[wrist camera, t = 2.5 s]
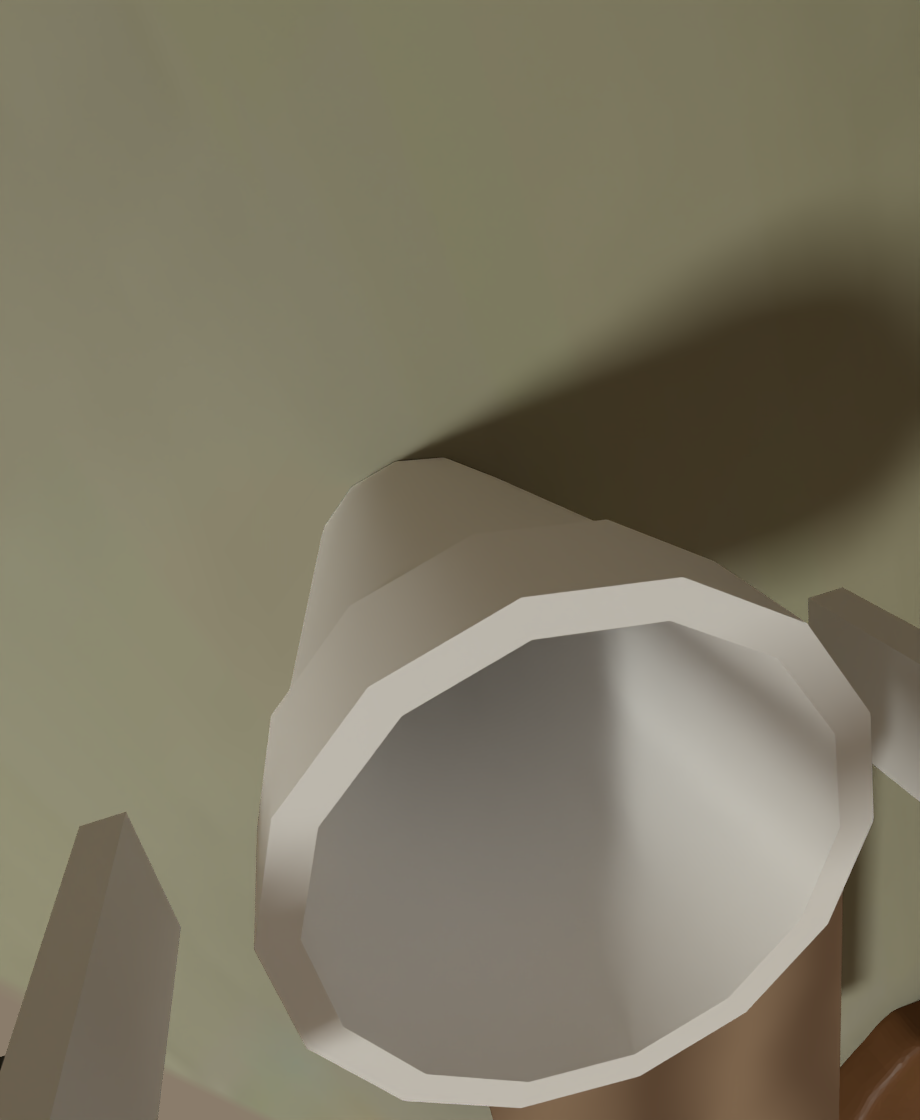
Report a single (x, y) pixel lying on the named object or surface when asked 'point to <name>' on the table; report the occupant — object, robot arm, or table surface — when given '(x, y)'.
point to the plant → (884, 1071)
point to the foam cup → (541, 795)
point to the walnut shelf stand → (739, 1058)
